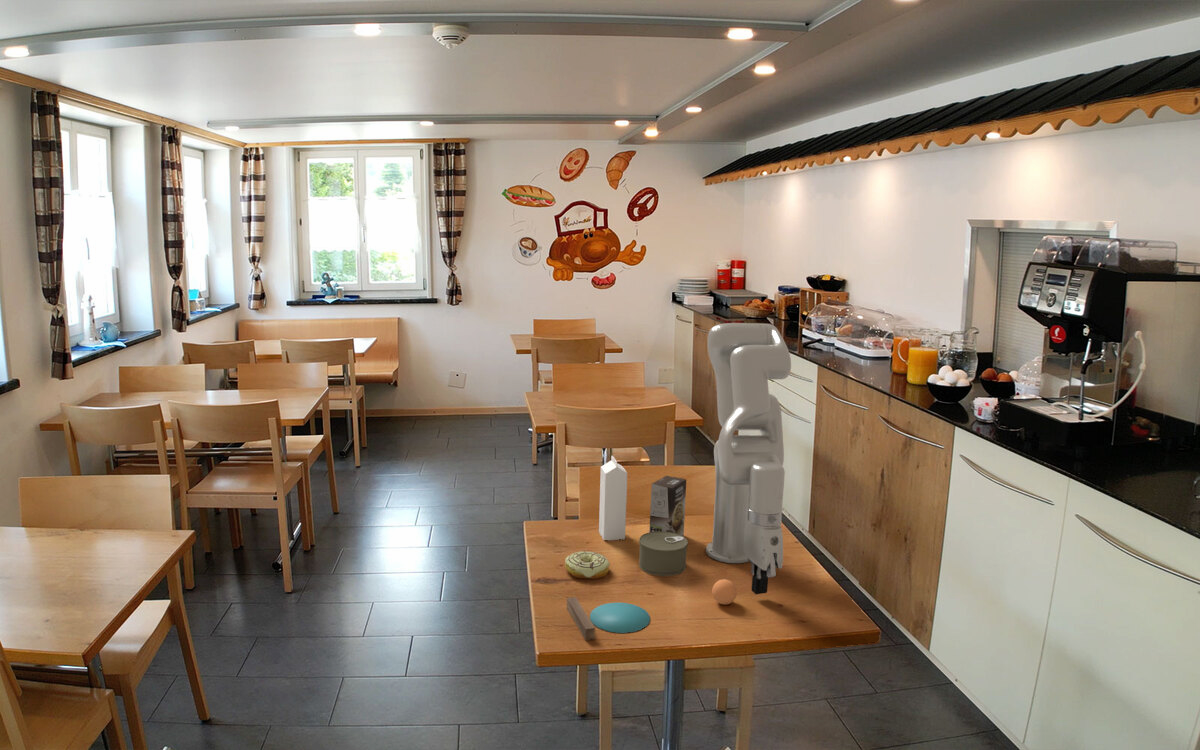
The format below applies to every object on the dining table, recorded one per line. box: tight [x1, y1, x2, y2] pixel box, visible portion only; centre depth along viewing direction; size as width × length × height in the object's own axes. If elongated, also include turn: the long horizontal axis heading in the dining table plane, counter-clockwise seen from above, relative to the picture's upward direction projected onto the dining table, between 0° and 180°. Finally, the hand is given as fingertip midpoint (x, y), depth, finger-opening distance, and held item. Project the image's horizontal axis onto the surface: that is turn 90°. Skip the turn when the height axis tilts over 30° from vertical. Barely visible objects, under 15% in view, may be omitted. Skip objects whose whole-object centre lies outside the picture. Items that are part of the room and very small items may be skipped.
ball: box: [711, 578, 738, 605], centre depth 182 cm, size 6×6×6 cm
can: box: [638, 531, 689, 577], centre depth 201 cm, size 12×12×7 cm
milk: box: [598, 455, 628, 541], centre depth 217 cm, size 6×6×22 cm
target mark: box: [589, 602, 651, 634], centre depth 175 cm, size 13×13×1 cm
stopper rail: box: [566, 596, 596, 641], centre depth 172 cm, size 2×14×2 cm, turn 18°
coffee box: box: [648, 475, 687, 537], centre depth 217 cm, size 9×6×16 cm
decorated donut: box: [564, 551, 611, 580], centre depth 197 cm, size 10×11×4 cm
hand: (759, 592), depth 185 cm, fingers closed
